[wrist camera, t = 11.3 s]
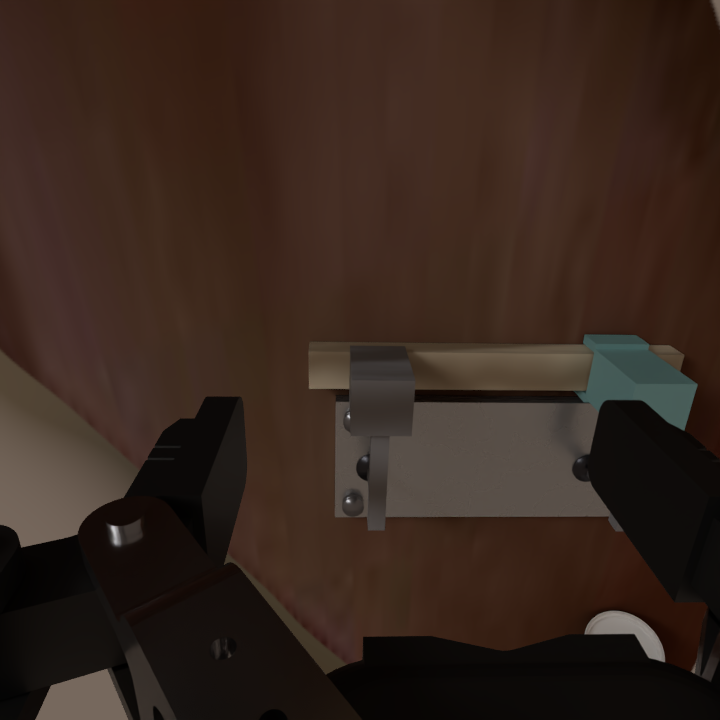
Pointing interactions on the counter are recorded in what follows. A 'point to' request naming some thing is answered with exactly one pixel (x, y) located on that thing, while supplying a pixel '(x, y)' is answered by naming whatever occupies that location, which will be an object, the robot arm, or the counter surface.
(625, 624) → the spread jar
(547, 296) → the counter surface
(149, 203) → the counter surface
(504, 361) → the rail
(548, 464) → the bolt plate
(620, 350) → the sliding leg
